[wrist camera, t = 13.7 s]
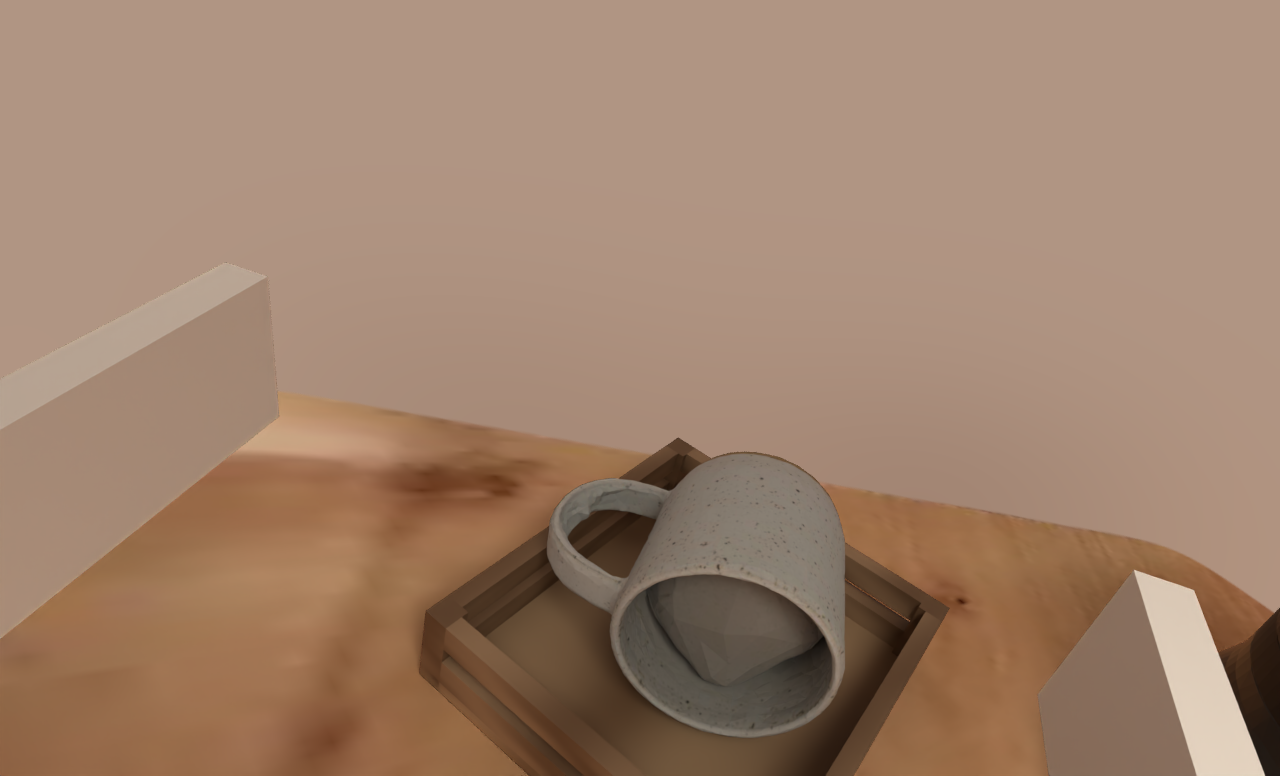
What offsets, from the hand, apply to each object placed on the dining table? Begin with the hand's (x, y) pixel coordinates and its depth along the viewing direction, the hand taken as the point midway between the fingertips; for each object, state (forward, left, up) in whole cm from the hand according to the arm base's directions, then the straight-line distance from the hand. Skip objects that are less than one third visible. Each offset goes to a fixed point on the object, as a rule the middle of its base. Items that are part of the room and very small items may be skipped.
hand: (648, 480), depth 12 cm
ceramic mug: (+4, -12, -16) cm, 21 cm away
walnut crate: (+2, -12, -18) cm, 22 cm away
